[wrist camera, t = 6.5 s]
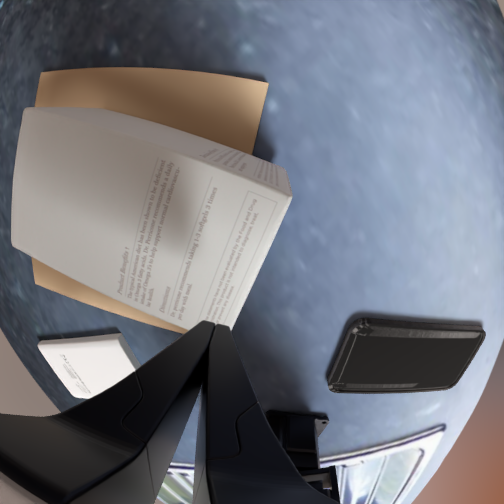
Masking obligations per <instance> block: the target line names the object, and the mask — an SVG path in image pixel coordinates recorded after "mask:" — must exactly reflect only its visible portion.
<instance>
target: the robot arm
mask: <svg viewBox="0 0 504 504" xmlns="http://www.w3.org/2000/svg"><path fill="white" fill-rule="evenodd" d="M201 385H202V388H201ZM200 389H201V395H200V406H199V417H198V429H197V442H196V455H195V469H194V485H193V503H192V504H340V498H339V490H338V483H337V475H336V468H335V465H334V466H329V467H326V468H320V460H319V448H318V437H319V435H320V434H321V433H322V431H323V430H324V429H325V427H326V426H327V425H328V423H329V418H328V417H320V416H309V415H300V414H291V413H284V412H277V411H267V412H266V413H265V415H264V412H263V410H262V408H261V405H260V403H258V402H259V401H258V398H257V396H256V393H255V391H254V388H253V386H252V384H251V381H250V379H249V376H248V374H247V371H246V369H245V366H244V363H243V361H242V358H241V356H240V353H239V351H238V348H237V345H236V343H235V340H234V338H233V335H232V332H231V330H230V327H229V326H227V325H223V324H216V325H215V323H214V322H210V321H206V320H202V321H201V322H199V323H198V324H197V325H195V326H194V327H193V328H191V329H190V330H189V331H187V332H186V333H185V334H183V335H182V336H181V337H179V338H178V339H177V340H175V341H174V342H173V343H171V344H170V345H169V346H167V347H166V348H165V349H163V350H162V351H161V352H159V353H158V354H157V355H155V356H154V357H153V358H151V359H150V360H148V361H147V362H146V363H144V364H143V365H142V366H140V367H139V368H138V369H136V370H135V372H134V371H133V372H132V373H130V374H129V375H128V376H126V377H125V378H124V379H122V380H121V381H119V382H118V383H116V384H115V385H113V386H111V387H110V388H108V389H106V390H104V391H103V392H101V393H99V394H97V395H95V396H93V397H91V398H90V399H88V400H86V401H84V402H82V403H80V404H78V405H76V406H74V407H72V408H70V409H68V410H66V411H64V412H61V413H59V414H56V415H52V416H46V417H35V416H20V415H10V414H1V413H0V504H154V502H155V500H156V497H157V495H158V492H159V490H160V488H161V485H162V483H163V480H164V478H165V475H166V473H167V470H168V468H169V466H170V463H171V461H172V458H173V456H174V453H175V451H176V448H177V446H178V444H179V441H180V439H181V436H182V434H183V431H184V429H185V426H186V424H187V421H188V419H189V416H190V414H191V412H192V409H193V407H194V404H195V402H196V399H197V397H198V394H199V391H200ZM324 488H330V489H324Z"/></svg>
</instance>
